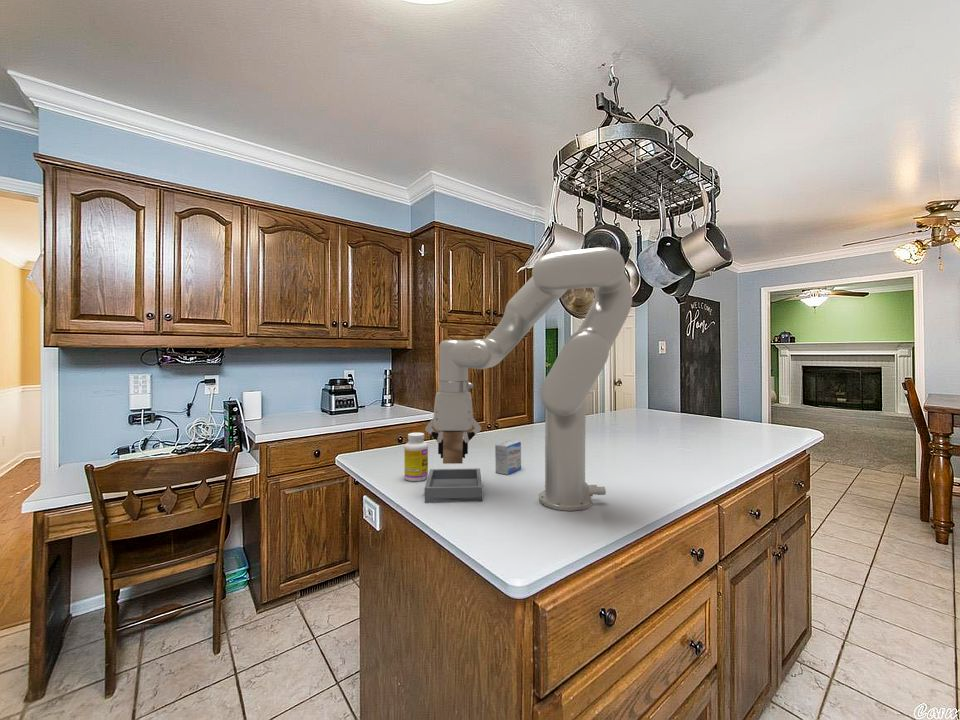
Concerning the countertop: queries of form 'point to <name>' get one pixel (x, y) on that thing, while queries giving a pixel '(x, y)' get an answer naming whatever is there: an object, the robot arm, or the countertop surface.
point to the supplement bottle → (416, 458)
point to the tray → (453, 485)
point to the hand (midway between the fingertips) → (453, 456)
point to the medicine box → (508, 457)
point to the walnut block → (452, 447)
